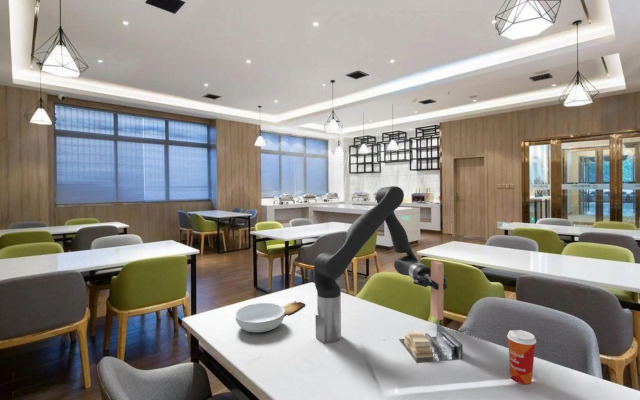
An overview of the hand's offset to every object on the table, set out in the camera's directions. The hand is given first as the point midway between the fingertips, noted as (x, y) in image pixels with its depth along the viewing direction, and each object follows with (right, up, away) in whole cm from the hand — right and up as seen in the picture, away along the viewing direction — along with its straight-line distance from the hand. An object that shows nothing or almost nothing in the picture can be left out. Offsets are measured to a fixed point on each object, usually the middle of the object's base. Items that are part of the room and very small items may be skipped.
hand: (441, 286), depth 116 cm
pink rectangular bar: (0, -12, +4) cm, 12 cm away
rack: (-4, -24, +2) cm, 24 cm away
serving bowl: (-68, -24, +25) cm, 76 cm away
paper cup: (+19, -25, -15) cm, 34 cm away
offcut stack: (-7, -23, +2) cm, 24 cm away
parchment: (-59, -23, +43) cm, 77 cm away
